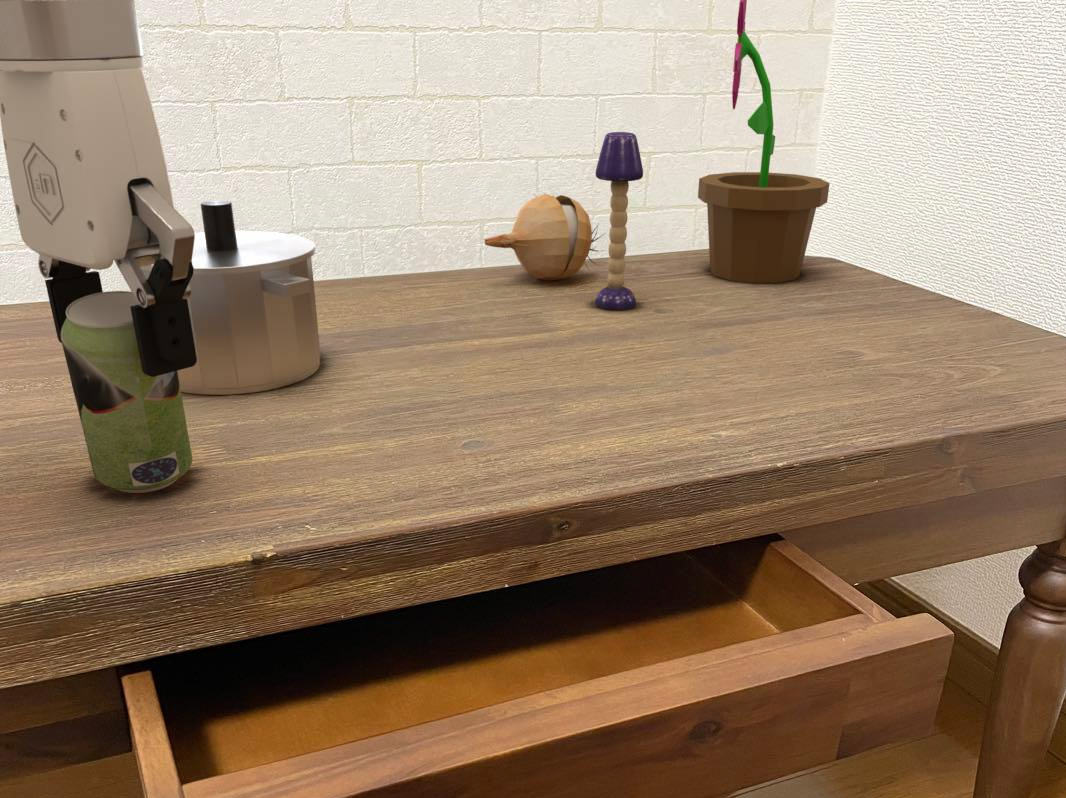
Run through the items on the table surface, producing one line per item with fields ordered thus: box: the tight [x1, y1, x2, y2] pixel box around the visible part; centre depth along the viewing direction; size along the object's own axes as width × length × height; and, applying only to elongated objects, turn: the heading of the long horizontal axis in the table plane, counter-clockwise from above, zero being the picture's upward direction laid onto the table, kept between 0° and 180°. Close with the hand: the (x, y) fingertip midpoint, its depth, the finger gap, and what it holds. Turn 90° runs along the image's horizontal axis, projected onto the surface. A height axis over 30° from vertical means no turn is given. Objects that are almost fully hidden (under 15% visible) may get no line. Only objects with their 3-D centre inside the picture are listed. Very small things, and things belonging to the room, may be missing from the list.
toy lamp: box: [594, 131, 644, 311], centre depth 103 cm, size 5×5×17 cm
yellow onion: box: [483, 193, 606, 282], centre depth 115 cm, size 9×9×15 cm
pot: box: [142, 256, 322, 396], centre depth 86 cm, size 14×19×10 cm
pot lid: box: [140, 199, 316, 275], centre depth 83 cm, size 15×15×5 cm
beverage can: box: [61, 290, 193, 494], centre depth 64 cm, size 6×7×12 cm
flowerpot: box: [697, 0, 831, 284], centre depth 114 cm, size 14×14×30 cm
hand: (126, 354), depth 62 cm, fingers open, 9 cm apart
